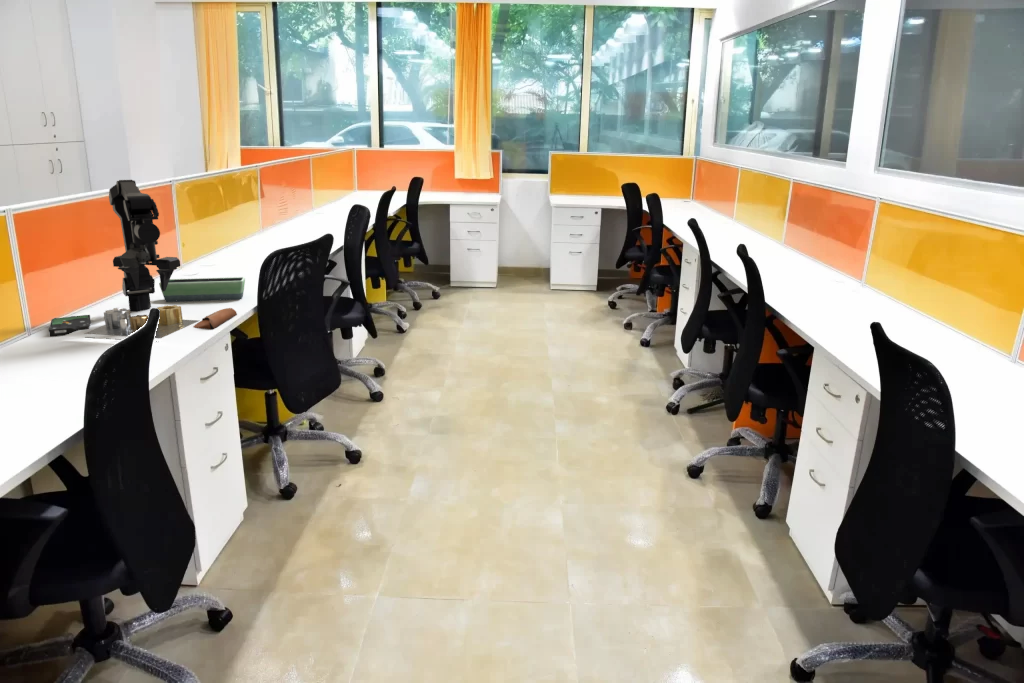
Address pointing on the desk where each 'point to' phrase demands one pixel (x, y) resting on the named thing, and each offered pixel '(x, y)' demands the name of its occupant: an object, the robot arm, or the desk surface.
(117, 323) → the carrier
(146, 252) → the robot arm
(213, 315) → the sunglasses case
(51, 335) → the disk drive
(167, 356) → the desk surface
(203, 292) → the planter
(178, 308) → the brass gear
